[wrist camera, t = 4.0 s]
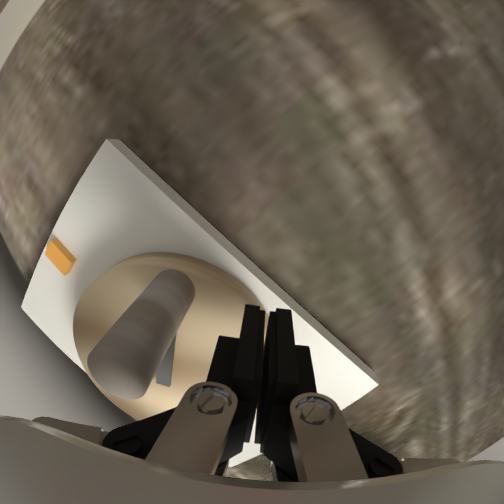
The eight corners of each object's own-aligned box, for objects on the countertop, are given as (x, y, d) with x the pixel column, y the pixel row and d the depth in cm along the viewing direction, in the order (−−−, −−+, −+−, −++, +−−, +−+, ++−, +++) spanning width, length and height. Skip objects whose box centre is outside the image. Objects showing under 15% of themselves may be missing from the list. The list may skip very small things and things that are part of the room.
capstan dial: (250, 429, 18) (240, 525, 11) (95, 382, 18) (46, 457, 11) (305, 284, 15) (330, 402, 7) (89, 229, 15) (-18, 285, 7)
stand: (373, 370, 18) (380, 390, 16) (232, 454, 22) (230, 472, 20) (119, 139, 15) (100, 138, 13) (32, 299, 19) (16, 310, 17)
